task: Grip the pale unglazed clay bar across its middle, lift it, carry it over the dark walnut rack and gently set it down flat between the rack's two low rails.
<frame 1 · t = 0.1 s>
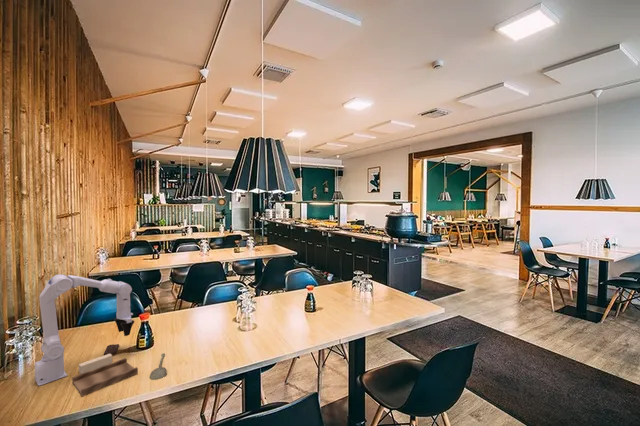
hand: (124, 333, 153), 10 cm above the table, tool pointing down, fingers open, 7 cm apart
rack: (106, 378, 131), on the table
soupspoon: (160, 368, 140), on the table
clay bar: (96, 368, 139), on the table
ice cream bar: (110, 354, 153), on the table
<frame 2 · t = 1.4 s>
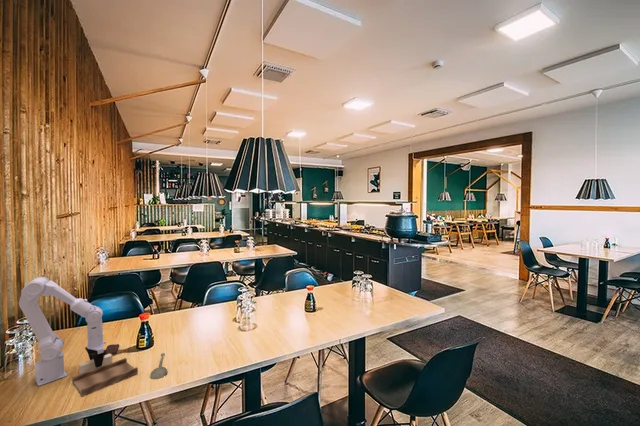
hand: (96, 363, 139), 2 cm above the table, tool pointing down, fingers open, 7 cm apart
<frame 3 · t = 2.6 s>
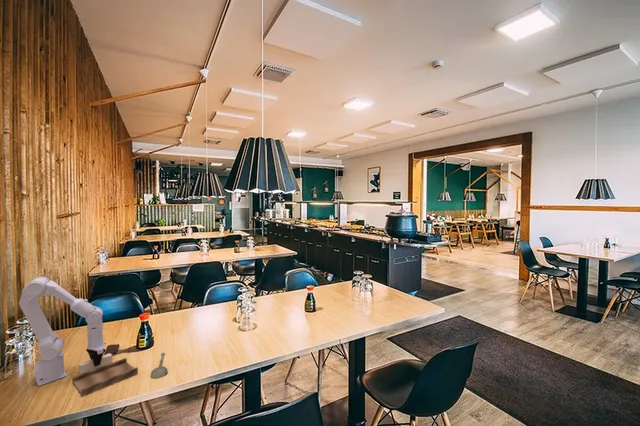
hand: (96, 364, 139), 2 cm above the table, tool pointing down, fingers closed on clay bar, 3 cm apart
clay bar: (96, 367, 139), on the table, touching gripper
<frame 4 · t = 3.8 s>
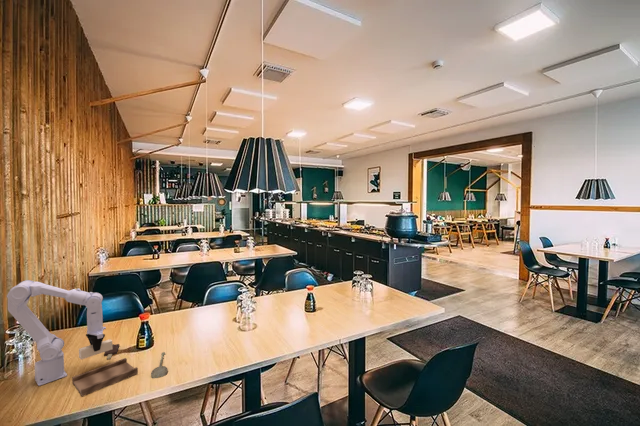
hand: (95, 349, 139), 9 cm above the table, tool pointing down, fingers closed on clay bar, 3 cm apart
clay bar: (96, 353, 139), point 7 cm above the table, touching gripper
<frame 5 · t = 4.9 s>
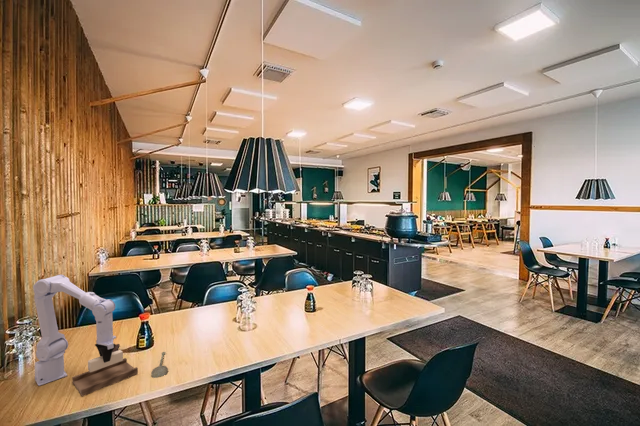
hand: (105, 360, 131), 8 cm above the table, tool pointing down, fingers closed on clay bar, 3 cm apart
clay bar: (106, 365, 131), point 6 cm above the table, touching gripper
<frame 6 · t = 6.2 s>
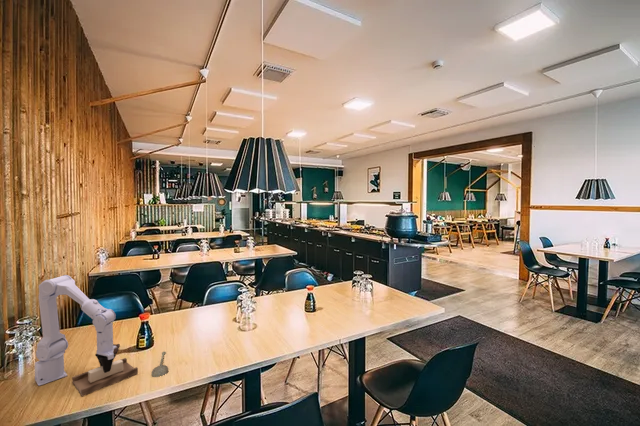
hand: (105, 370, 131), 4 cm above the table, tool pointing down, fingers closed on clay bar, 3 cm apart
clay bar: (106, 375, 131), point 1 cm above the table, touching gripper
when the fingers open (4 cm above the table, at t = 6.5 s): clay bar stays where it is, resting on rack.
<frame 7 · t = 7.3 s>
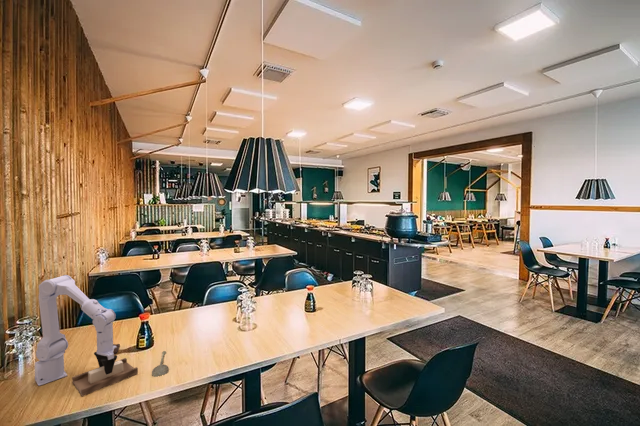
hand: (105, 370, 131), 4 cm above the table, tool pointing down, fingers open, 7 cm apart
clay bar: (106, 375, 131), point 1 cm above the table, touching rack
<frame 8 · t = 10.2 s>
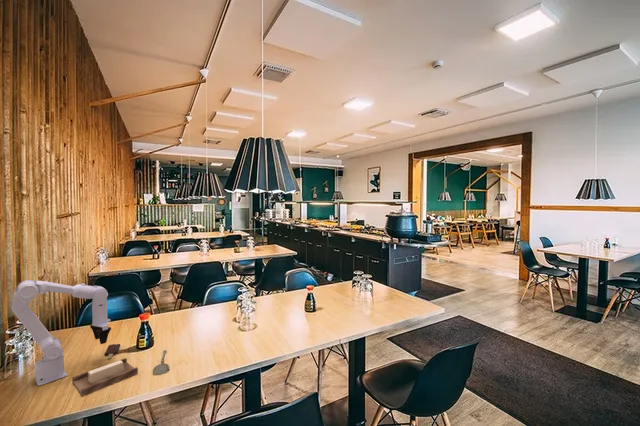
hand: (100, 340, 143), 10 cm above the table, tool pointing down, fingers open, 7 cm apart
at the end: clay bar inside the target area on the rack (0.1 cm from its centre), point 1.0 cm above the rack's base; clay bar tilted 0°; the gripper is holding nothing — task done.
